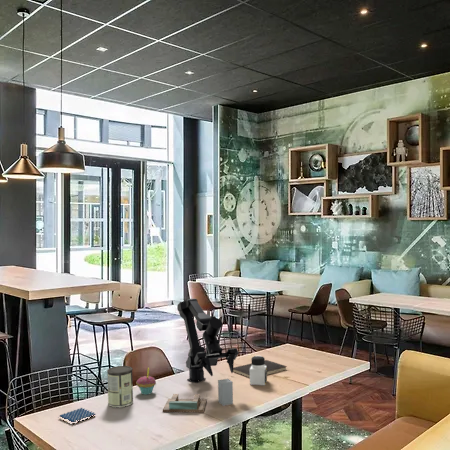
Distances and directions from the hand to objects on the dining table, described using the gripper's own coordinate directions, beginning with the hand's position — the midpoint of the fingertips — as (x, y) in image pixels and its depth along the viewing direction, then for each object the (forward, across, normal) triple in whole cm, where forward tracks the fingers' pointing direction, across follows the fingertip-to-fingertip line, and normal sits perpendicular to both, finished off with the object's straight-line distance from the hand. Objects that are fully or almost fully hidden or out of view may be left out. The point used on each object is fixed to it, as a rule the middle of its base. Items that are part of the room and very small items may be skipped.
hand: (222, 374), depth 200 cm
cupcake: (-9, +26, -25) cm, 37 cm away
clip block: (+10, 0, -6) cm, 11 cm away
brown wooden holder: (+7, +16, -8) cm, 20 cm away
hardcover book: (-14, -34, -30) cm, 47 cm away
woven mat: (+2, +57, -15) cm, 59 cm away
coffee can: (-4, +39, -20) cm, 44 cm away
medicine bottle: (-2, -24, -18) cm, 30 cm away
